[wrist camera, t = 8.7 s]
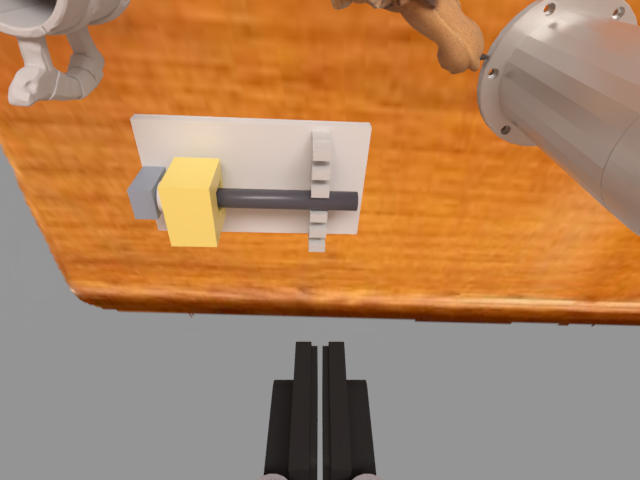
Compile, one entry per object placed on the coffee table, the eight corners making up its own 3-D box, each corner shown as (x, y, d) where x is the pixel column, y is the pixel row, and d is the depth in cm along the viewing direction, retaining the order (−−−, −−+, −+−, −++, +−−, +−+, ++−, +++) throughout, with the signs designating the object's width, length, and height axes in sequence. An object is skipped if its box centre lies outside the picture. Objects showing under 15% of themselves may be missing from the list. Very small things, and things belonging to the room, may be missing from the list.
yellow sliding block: (219, 158, 35) (209, 188, 31) (226, 213, 39) (217, 247, 35) (174, 157, 35) (157, 187, 31) (185, 212, 38) (171, 246, 34)
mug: (130, -106, 25) (30, -127, 16) (156, 81, 33) (98, 141, 23) (5, -124, 25) (-177, -158, 15) (60, 71, 32) (-40, 129, 23)
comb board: (369, 122, 36) (379, 148, 31) (355, 227, 43) (361, 260, 39) (134, 113, 34) (110, 139, 30) (161, 223, 42) (145, 257, 37)
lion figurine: (314, -15, 29) (319, 3, 22) (352, -97, 26) (371, -107, 19) (463, 83, 34) (505, 123, 27) (508, 22, 31) (569, 49, 24)
